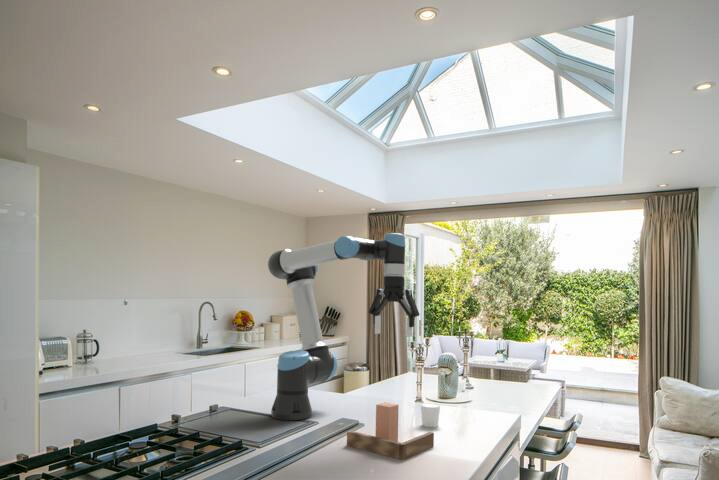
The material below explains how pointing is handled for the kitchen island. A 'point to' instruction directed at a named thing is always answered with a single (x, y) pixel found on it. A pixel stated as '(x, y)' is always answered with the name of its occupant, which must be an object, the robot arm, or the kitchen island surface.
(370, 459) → the kitchen island surface
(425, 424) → the white cup
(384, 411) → the block
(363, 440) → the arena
